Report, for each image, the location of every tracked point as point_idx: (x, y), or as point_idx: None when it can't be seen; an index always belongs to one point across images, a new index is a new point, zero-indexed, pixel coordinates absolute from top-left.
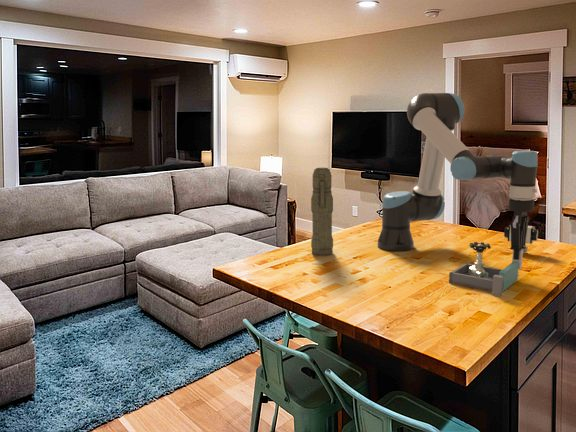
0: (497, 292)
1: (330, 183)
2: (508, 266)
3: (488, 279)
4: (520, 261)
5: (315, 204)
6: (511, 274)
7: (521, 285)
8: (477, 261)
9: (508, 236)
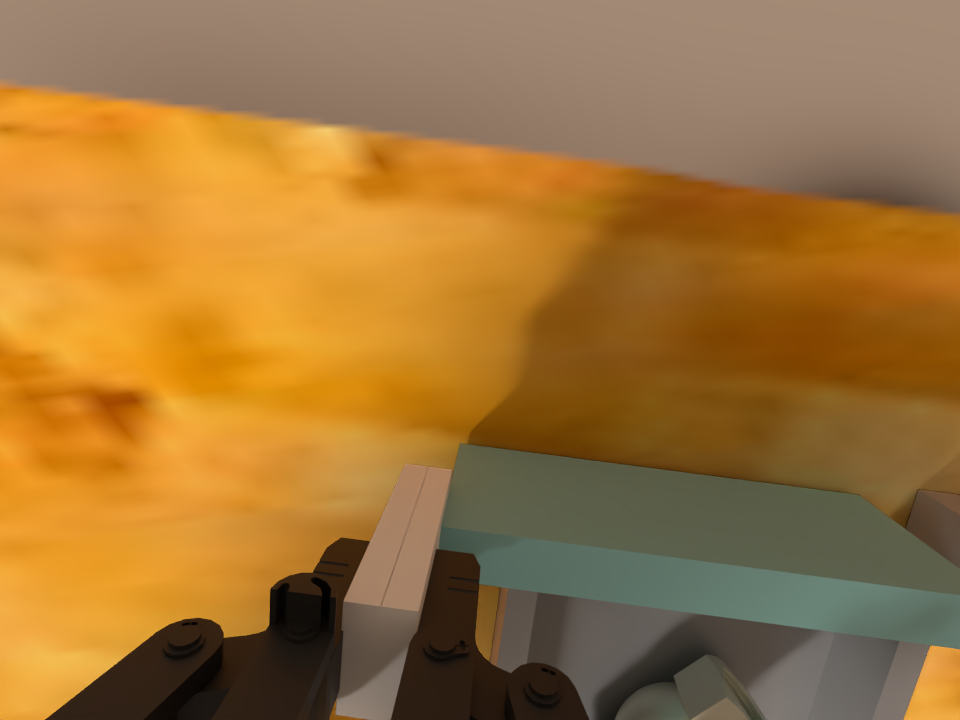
0: None
1: None
2: (695, 599)
3: (905, 663)
4: (440, 517)
5: None
6: (689, 517)
7: (588, 393)
8: None
9: None
